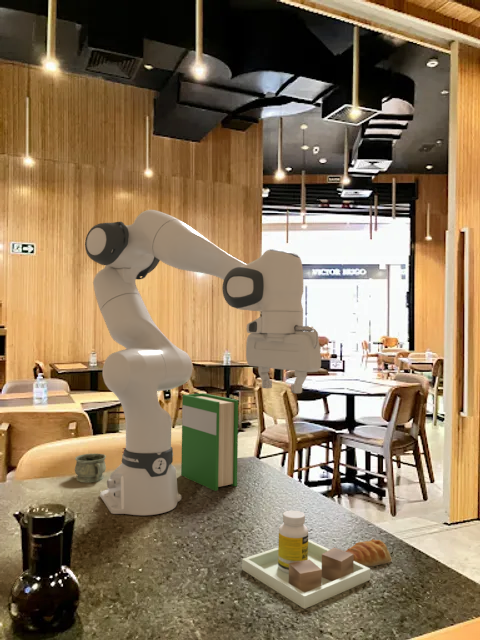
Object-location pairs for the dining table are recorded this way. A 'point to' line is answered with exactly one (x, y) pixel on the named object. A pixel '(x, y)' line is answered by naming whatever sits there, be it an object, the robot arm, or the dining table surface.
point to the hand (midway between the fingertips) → (281, 390)
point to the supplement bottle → (292, 540)
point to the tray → (272, 576)
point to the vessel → (90, 467)
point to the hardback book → (209, 440)
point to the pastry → (370, 553)
